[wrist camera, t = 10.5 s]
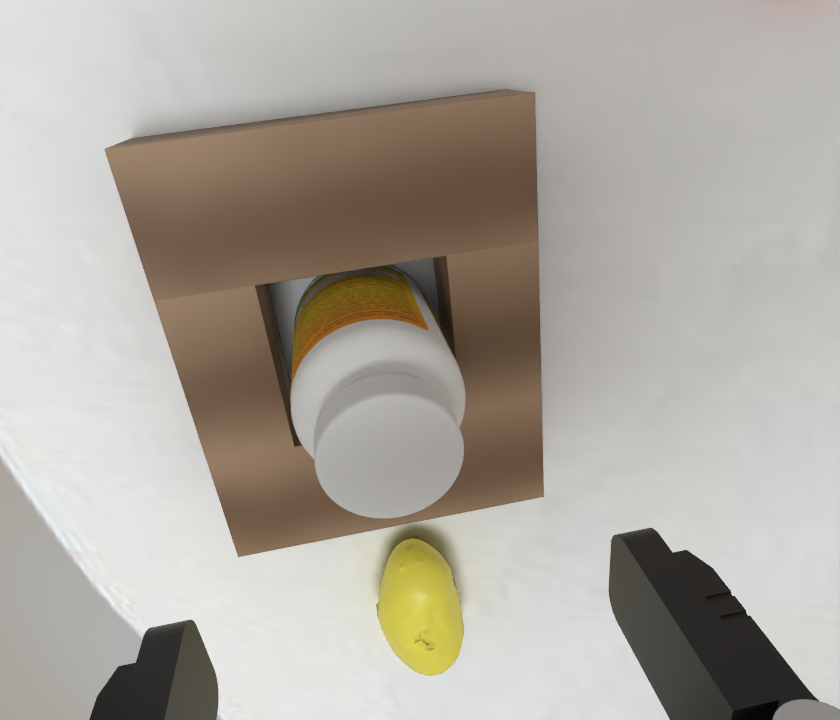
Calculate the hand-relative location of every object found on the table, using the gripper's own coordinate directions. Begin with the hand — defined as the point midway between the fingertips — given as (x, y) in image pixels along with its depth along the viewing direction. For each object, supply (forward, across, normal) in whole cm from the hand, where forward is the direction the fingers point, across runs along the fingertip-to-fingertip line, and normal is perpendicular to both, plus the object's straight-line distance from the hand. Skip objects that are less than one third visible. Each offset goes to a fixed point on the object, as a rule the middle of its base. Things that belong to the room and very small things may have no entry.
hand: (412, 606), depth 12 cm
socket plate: (+14, 0, 0) cm, 15 cm away
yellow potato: (+15, -1, +15) cm, 21 cm away
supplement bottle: (+15, 0, 0) cm, 15 cm away
